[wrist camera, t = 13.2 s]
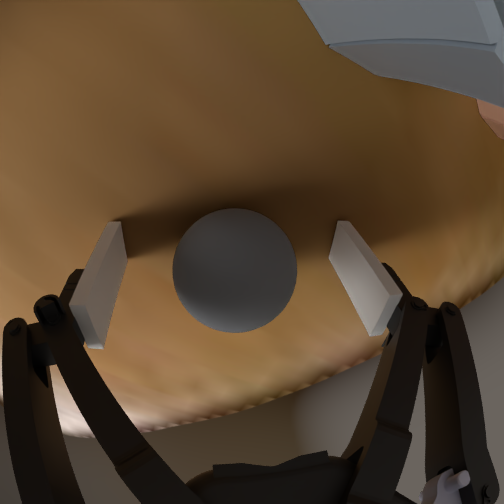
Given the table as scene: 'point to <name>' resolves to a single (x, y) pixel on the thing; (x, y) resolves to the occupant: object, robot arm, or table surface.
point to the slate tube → (420, 41)
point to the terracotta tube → (492, 117)
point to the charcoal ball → (234, 270)
